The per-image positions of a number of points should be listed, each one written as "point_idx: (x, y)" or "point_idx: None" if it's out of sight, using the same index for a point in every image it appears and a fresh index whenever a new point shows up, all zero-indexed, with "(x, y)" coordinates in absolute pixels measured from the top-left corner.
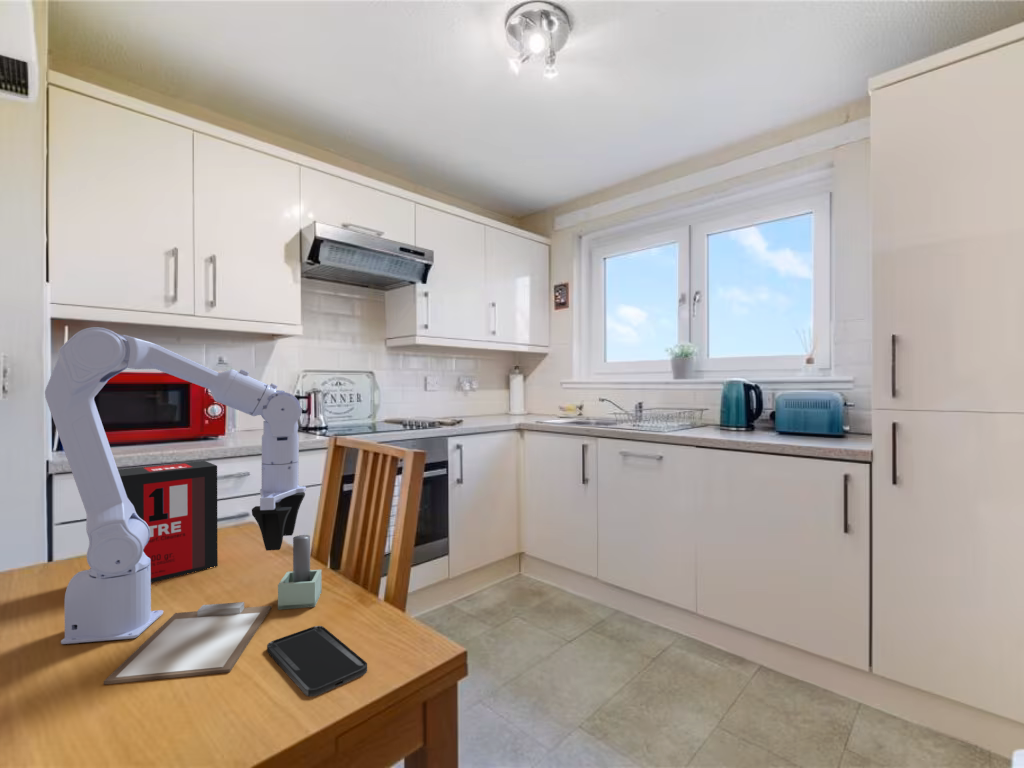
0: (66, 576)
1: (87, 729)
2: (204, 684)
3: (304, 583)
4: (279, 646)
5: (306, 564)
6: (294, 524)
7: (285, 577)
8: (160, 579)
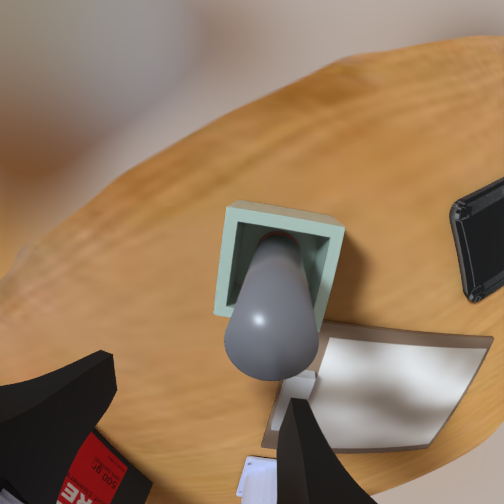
0: None
1: (490, 418)
2: (495, 356)
3: (337, 259)
4: (484, 280)
5: (302, 270)
6: (85, 371)
7: None
8: (116, 452)
